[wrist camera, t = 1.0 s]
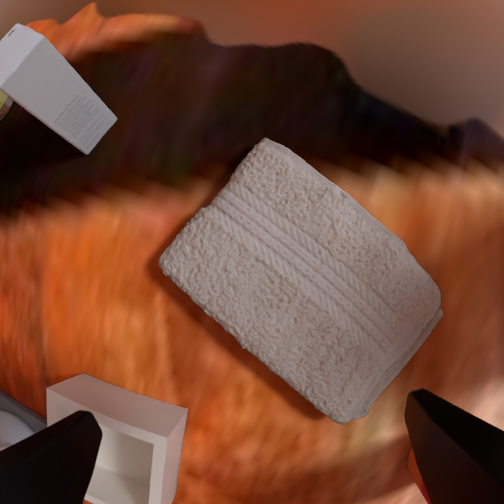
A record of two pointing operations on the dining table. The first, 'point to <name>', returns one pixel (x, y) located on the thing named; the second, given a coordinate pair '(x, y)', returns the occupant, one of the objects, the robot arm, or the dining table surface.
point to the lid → (13, 429)
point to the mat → (22, 412)
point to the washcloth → (306, 281)
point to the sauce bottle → (4, 104)
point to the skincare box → (51, 89)
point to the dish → (125, 440)
